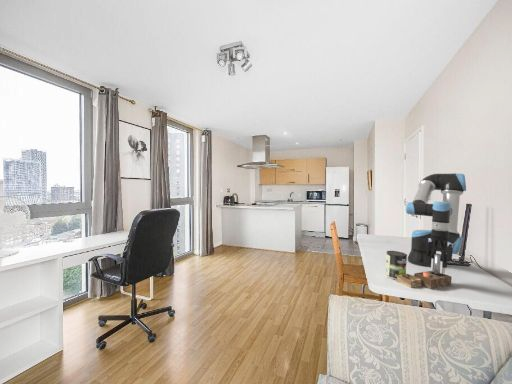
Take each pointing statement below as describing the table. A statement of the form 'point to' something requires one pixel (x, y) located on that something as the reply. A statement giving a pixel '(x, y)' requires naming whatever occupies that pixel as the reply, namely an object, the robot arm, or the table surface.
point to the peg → (437, 264)
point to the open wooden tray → (409, 280)
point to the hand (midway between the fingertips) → (437, 271)
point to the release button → (426, 274)
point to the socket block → (434, 280)
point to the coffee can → (395, 264)
